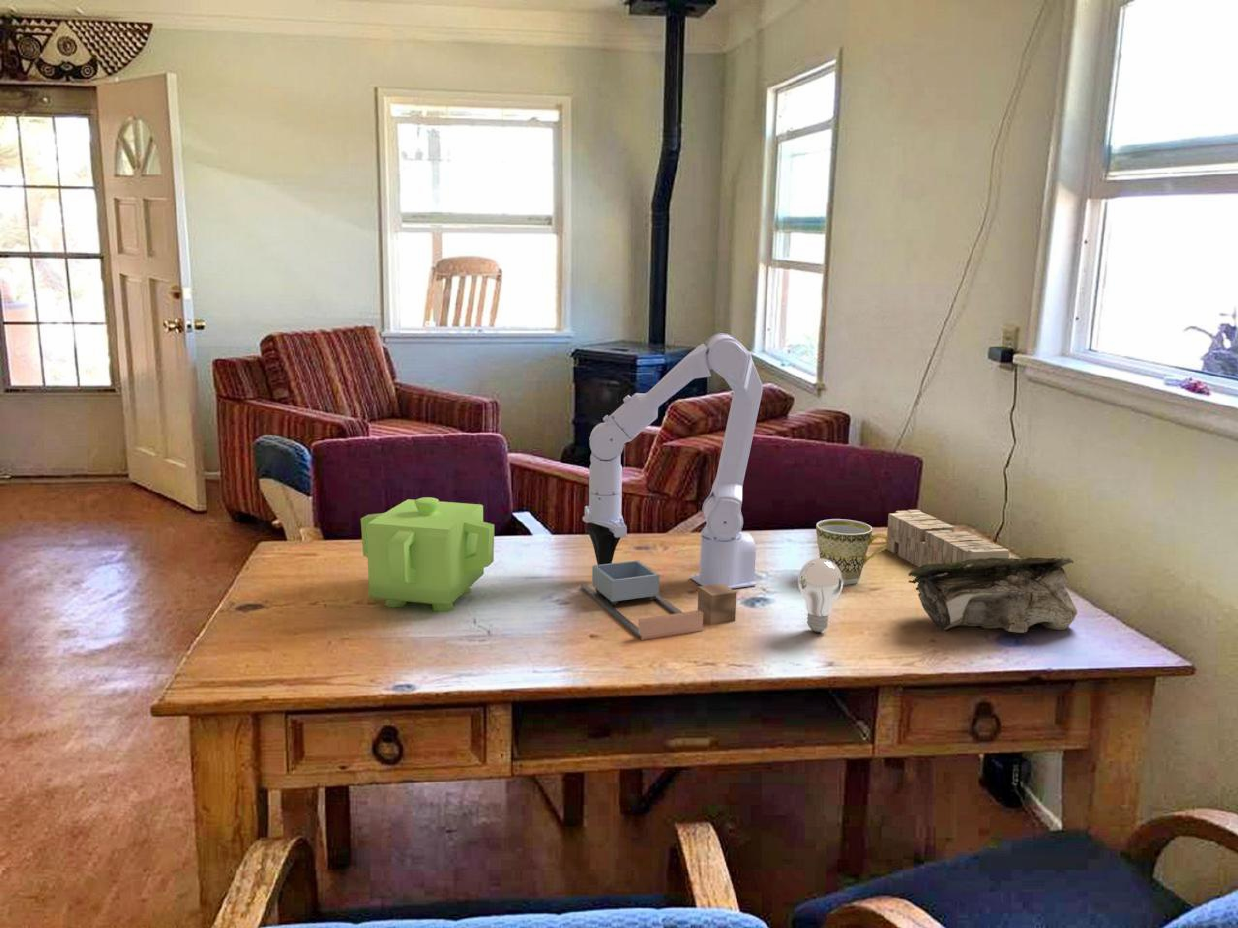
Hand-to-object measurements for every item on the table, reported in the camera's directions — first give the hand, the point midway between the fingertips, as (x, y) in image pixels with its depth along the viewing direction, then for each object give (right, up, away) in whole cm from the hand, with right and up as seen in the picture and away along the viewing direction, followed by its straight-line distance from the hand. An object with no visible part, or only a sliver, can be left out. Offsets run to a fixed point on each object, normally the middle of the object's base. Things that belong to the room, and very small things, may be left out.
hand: (604, 565), depth 180 cm
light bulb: (+34, -9, -21) cm, 41 cm away
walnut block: (+18, -7, -16) cm, 25 cm away
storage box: (-30, -5, -9) cm, 31 cm away
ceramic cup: (+45, -3, +4) cm, 45 cm away
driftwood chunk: (+62, -8, -16) cm, 65 cm away
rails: (+6, -6, -13) cm, 15 cm away
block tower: (+64, -2, +12) cm, 65 cm away
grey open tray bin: (+4, -5, -8) cm, 10 cm away
